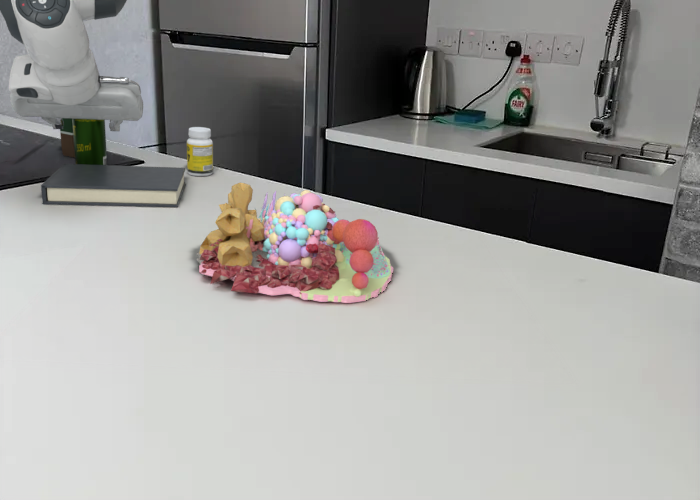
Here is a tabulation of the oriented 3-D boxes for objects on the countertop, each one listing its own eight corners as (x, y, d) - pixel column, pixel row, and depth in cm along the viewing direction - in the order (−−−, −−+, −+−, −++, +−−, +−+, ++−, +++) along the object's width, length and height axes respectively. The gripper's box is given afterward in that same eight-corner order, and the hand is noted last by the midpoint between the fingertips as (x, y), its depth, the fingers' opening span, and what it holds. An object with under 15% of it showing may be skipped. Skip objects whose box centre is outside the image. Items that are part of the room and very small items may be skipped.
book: (42, 204, 104) (40, 185, 103) (65, 180, 117) (64, 163, 116) (177, 207, 107) (177, 188, 106) (185, 184, 120) (185, 167, 119)
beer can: (108, 169, 126) (105, 103, 122) (106, 176, 121) (102, 108, 117) (77, 169, 125) (73, 102, 121) (74, 176, 120) (69, 107, 116)
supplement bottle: (188, 170, 130) (188, 125, 127) (214, 171, 130) (213, 127, 127) (185, 176, 125) (185, 130, 122) (211, 177, 126) (211, 131, 123)
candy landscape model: (178, 297, 76) (176, 218, 72) (211, 230, 98) (211, 167, 95) (401, 308, 77) (409, 230, 74) (384, 239, 99) (390, 177, 96)
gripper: (139, 63, 109) (150, 114, 122) (3, 56, 106) (29, 109, 119) (136, 95, 107) (147, 144, 119) (-3, 89, 104) (23, 140, 116)
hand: (87, 127), depth 119 cm, fingers open, 8 cm apart
